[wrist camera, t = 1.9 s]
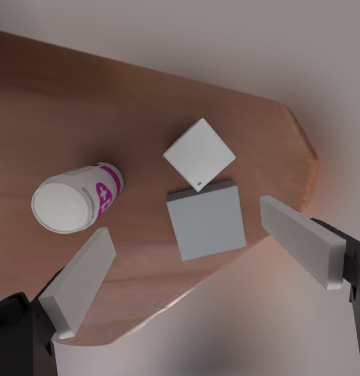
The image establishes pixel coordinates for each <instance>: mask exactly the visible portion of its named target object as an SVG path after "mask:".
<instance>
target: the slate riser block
mask: <svg viewBox="0 0 360 376" xmlns="http://www.w3.org/2000/svg"><path fill="white" fill-rule="evenodd" d="M166 203H167V206H168V210H169V214H170V217H171V221H172V224H173V228H174V231H175V235H176V238H177V242H178V246H179V249H180V253H181V256H182V260H183V261H185V260H189V259H193V258H198V257H202V256H206V255H211V254H215V253H220V252H224V251H228V250H233V249H237V248H241V247H246V242H245V235H244V229H243V222H242V215H241V208H240V202H239V195H238V188H237V185H236V184H234V183H233V182H232V181H230V180H227V181H223V182H218V183H214V184H210V185H206V186H204V187H203V188H202V189H201V190H200V191H199V192H197V191H196V190H195V189H194V188H193V189H189V190H185V191H181V192H177V193H173V194H169V195H167V201H166Z"/></svg>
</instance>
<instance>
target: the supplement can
mask: <svg viewBox="0 0 360 376" xmlns="http://www.w3.org/2000/svg"><path fill="white" fill-rule="evenodd" d="M123 187H124V180H123V176H122V174H121V173H120V171H119V170H118V169H117V168H116V167H115V166H113V165H111V164H109V163H103V162H99V163H95V164H91V165H88V166H85V167H82V168H79V169H75V170H72V171H69V172H66V173H63V174H60V175H56V176H53V177H50V178H48V179H47V180H45V181H44V182H43V183H41V185H40V187H39V188H38V190H36V192H35V194H34V195H33V197H32V206H31V207H32V210H33V213H34V216H35V217H36V219H37V220H38V221H39V223H40V224H42V225H43V226H44V227H46V228H47V229H49V230H51V231H54V232H56V233H65V234H68V233H72V232H76V231H80V230H84V229H86V228H87V227H89V226H90V225H92V224H93V223H94V222H95V221H96V220H97V219H98V218H99V216H100V215H101V214H102V213H103V212H104V211H105V210H106V209H107V208H108V207H109V206H110V205H111V204H112V203H113V202H114V201H115V200H116V198H117V197H118V196H119V195H120V194H121V192H122V191H123Z"/></svg>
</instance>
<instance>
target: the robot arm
mask: <svg viewBox="0 0 360 376" xmlns="http://www.w3.org/2000/svg"><path fill="white" fill-rule="evenodd" d="M260 209H261V223H262V227H263V228H264V229H265V230H266V231H267V232H268V233H269V234H270V235H271V236H272V237H273V238H274V239H276V241H277V242H278V243H280V245H281V246H283V247H284V248H285V249H286V250H287V251H288V252H289V253H290V254H291V255H292V256H293V257H294V258H295V259H296V260H297V261H298V262H299V263H300V264H301V265H302V266H303V267H304V268H305V269H306V270H307V271H308V272H309V273H310V274H311V275H312V276H313V277H314V278H315V279H316V280H317V281H318V282H319V283H320V284H321V285H322V286H323V287H324V288H325V289H326V290H332V289H338V288H342V286H343V278H344V279H346V280H347V281H348V282H349V283H350V284H351V290H350V299H349V302H351V303H353V311H354V318H355V324H356V331H357V338H358V345H359V352H360V241H358V240H356V239H354V238H352V237H350V236H349V235H347V234H345V233H343V232H341V231H340V230H337V229H336V228H334V227H332V226H330V225H329V224H327V223H325V222H323V221H321V220H317V219H314V218H311V219H309V218H307V217H305V216H304V215H302V214H300V213H299V212H297V211H295V210H293V209H292V208H290V207H288V206H287V205H285V204H283V203H281V202H280V201H278V200H276V199H275V198H273V197H271V196H269V195H267V196H261V197H260ZM115 256H116V252H115V249H114V246H113V243H112V240H111V237H110V235H109V232H108V229H107V227H103V228H98V229H97V230H96V232H95V233H94V234H93V235H92V236H91V237H90V239H89V240H88V241H87V242H86V243H85V244H84V246H83V247H82V248H81V249H80V250H79V251H78V253H77V254H76V255H75V256H74V257H73V258H72V260H71V261H70V262H69V263H68V264H67V265H66V266H65V267H63V268H62V269H61V270H60V271H58V272H57V273H56V274H55V275H54V276H53V278H52V279H51V280H50V281H49V282H48V283H47V284H46V286H45V287H44V288H43V289H42V290H41V291H40V292H39V293H38V295H37V296H36V297H35V298H34V299H33V300H32V301H31V303H30V302H29V301H28V299H27V297H26V295H25V294H24V292H19V293H15V294H13V295H11V296H9V297H7V298H5V299H4V300H2V301H0V376H58V375H57V366H56V359H55V352H54V344H53V342H52V340H51V338H52V336H53V335H54V333H55V331H56V332H57V334H58V336H59V338H60V339H64V338H69V337H75V335H76V333H77V331H78V329H79V327H80V325H81V323H82V321H83V319H84V317H85V315H86V313H87V311H88V309H89V307H90V305H91V303H92V301H93V299H94V297H95V295H96V293H97V291H98V289H99V287H100V285H101V283H102V281H103V279H104V277H105V275H106V273H107V271H108V269H109V268H110V266H111V264H112V262H113V260H114V258H115Z"/></svg>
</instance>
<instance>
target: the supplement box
mask: <svg viewBox="0 0 360 376" xmlns="http://www.w3.org/2000/svg"><path fill="white" fill-rule="evenodd" d="M163 156H164V157H165V158H166V159H167V160H168V162H169V163H170V164H171V165H172V166H173V167H174V168H175V169H176V170H177V171H178V172H179V173H180V174H181V175H182V176H183V177H184V178H185V179H186V180H187V181H188V182H189V183H190V184H191V185H192V187H193V188H194V189H195V190H196V191H197V192H199V191H200V190H201V189H202V188H203V187H204V186H205V185H206V184H207V183H208V182H210V181H211V180H212V179H213V178H214V177H215V176H216V175H217V174H218V173H219V172H221V171H222V170H223V169H224V168H225V167H226V166H227V165H228V164H230V163H231V162H232V161H233V160H234V159H235V158H236V157H235V156H234V154H233V153H232V152H231V151H230V149H229V148H228V147H227V146H226V144H225V143H224V142H223V141H222V140H221V138H220V137H219V136H218V135H217V134H216V132H215V131H214V130H213V129H212V128H211V127H210V125H209V124H208V123H207V122H206V121H205V120H204V118H201V119H200V120H199V121H197V122H196V123H195V124H193V125H192V126H191V127H190V128H189V129H188V130H187V131H186V132H185V133H184V134H183V135H182V136H181V137H180V138H179V139H178V140H177V141H176V142H175V143H174V144H173V145H172V146H171V147H170V148H169V149H168V150H167V151H166V152H165V153H164V154H163Z"/></svg>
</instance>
